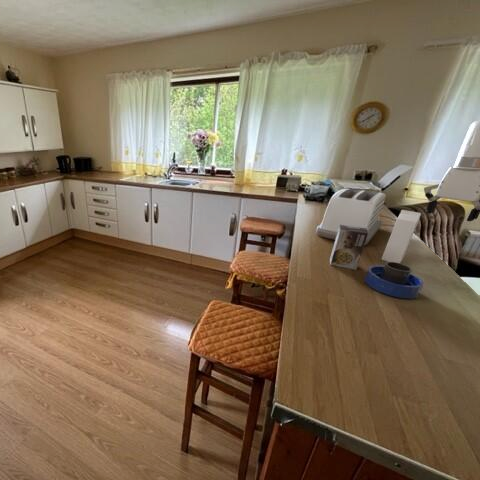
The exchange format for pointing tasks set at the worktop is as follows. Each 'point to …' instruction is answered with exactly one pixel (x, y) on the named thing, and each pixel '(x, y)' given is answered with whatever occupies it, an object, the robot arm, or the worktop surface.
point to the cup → (396, 273)
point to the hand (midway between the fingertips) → (449, 216)
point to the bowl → (393, 284)
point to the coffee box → (348, 246)
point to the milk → (401, 236)
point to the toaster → (352, 212)
